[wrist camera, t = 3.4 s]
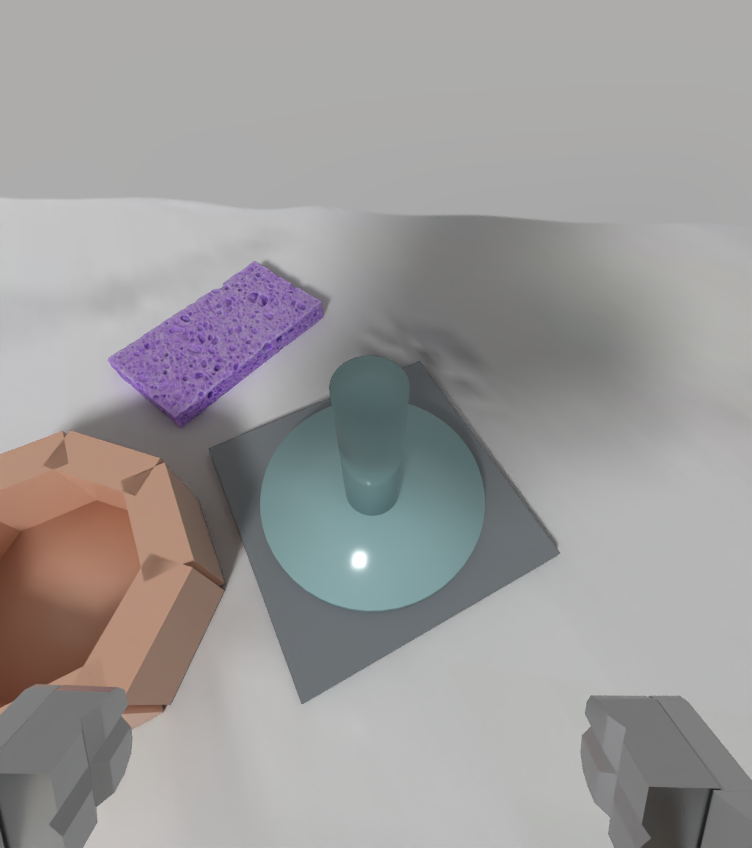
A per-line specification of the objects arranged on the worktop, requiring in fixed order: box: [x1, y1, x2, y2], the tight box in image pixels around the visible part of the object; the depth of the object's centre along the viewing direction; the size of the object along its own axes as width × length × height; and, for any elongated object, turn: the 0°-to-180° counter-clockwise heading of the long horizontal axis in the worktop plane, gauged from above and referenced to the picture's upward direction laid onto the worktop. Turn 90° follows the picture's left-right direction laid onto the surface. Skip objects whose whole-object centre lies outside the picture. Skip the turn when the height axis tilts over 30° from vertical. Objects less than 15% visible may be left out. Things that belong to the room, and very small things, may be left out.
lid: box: [260, 356, 485, 613], centre depth 20 cm, size 12×12×10 cm
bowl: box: [0, 430, 225, 730], centre depth 20 cm, size 13×13×4 cm
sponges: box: [108, 261, 323, 428], centre depth 30 cm, size 7×13×2 cm, turn 139°
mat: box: [209, 361, 560, 704], centre depth 24 cm, size 14×14×1 cm
